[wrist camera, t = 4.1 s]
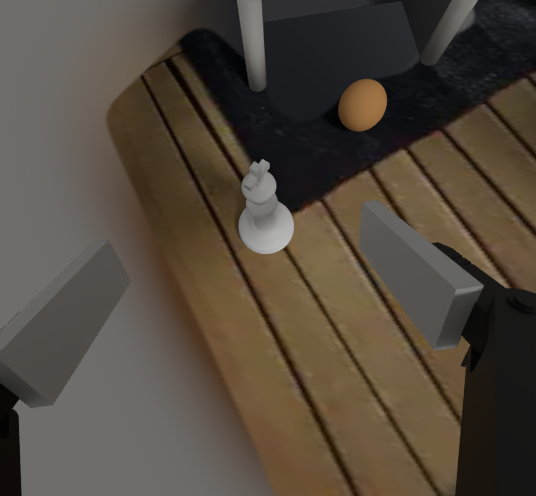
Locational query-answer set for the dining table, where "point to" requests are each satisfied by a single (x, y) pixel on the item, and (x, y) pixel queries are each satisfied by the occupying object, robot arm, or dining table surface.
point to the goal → (308, 3)
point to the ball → (362, 105)
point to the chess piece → (263, 213)
